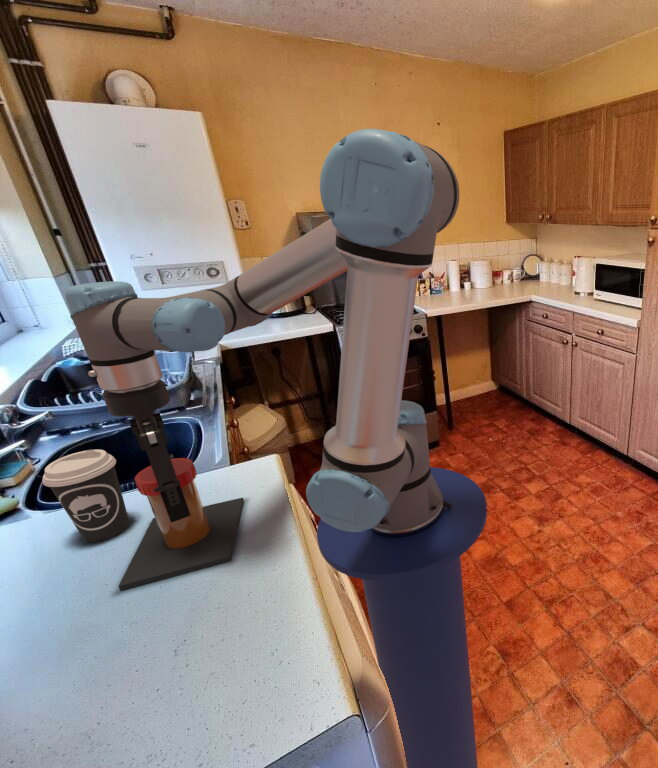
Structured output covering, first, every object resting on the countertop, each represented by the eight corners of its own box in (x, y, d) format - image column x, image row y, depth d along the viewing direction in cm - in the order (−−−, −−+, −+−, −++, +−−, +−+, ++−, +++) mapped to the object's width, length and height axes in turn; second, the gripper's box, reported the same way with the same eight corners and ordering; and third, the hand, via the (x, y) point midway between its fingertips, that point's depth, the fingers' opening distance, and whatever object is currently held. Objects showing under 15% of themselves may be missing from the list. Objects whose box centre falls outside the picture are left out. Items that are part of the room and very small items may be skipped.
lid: (148, 475, 76) (143, 464, 75) (201, 465, 79) (197, 453, 78) (131, 501, 69) (126, 488, 68) (191, 488, 72) (186, 476, 71)
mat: (244, 501, 89) (242, 497, 88) (230, 560, 73) (229, 556, 73) (154, 522, 83) (152, 517, 83) (120, 591, 68) (118, 586, 68)
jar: (213, 519, 82) (193, 459, 77) (206, 541, 76) (184, 478, 72) (171, 529, 80) (147, 468, 75) (161, 553, 74) (135, 489, 69)
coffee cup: (152, 516, 85) (126, 449, 80) (102, 551, 76) (68, 478, 71) (112, 511, 87) (83, 445, 81) (58, 545, 78) (21, 473, 72)
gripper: (98, 374, 72) (142, 490, 80) (104, 412, 58) (157, 548, 66) (154, 364, 77) (191, 474, 85) (173, 396, 63) (214, 525, 71)
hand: (176, 506), depth 76 cm, fingers closed on lid, 8 cm apart
